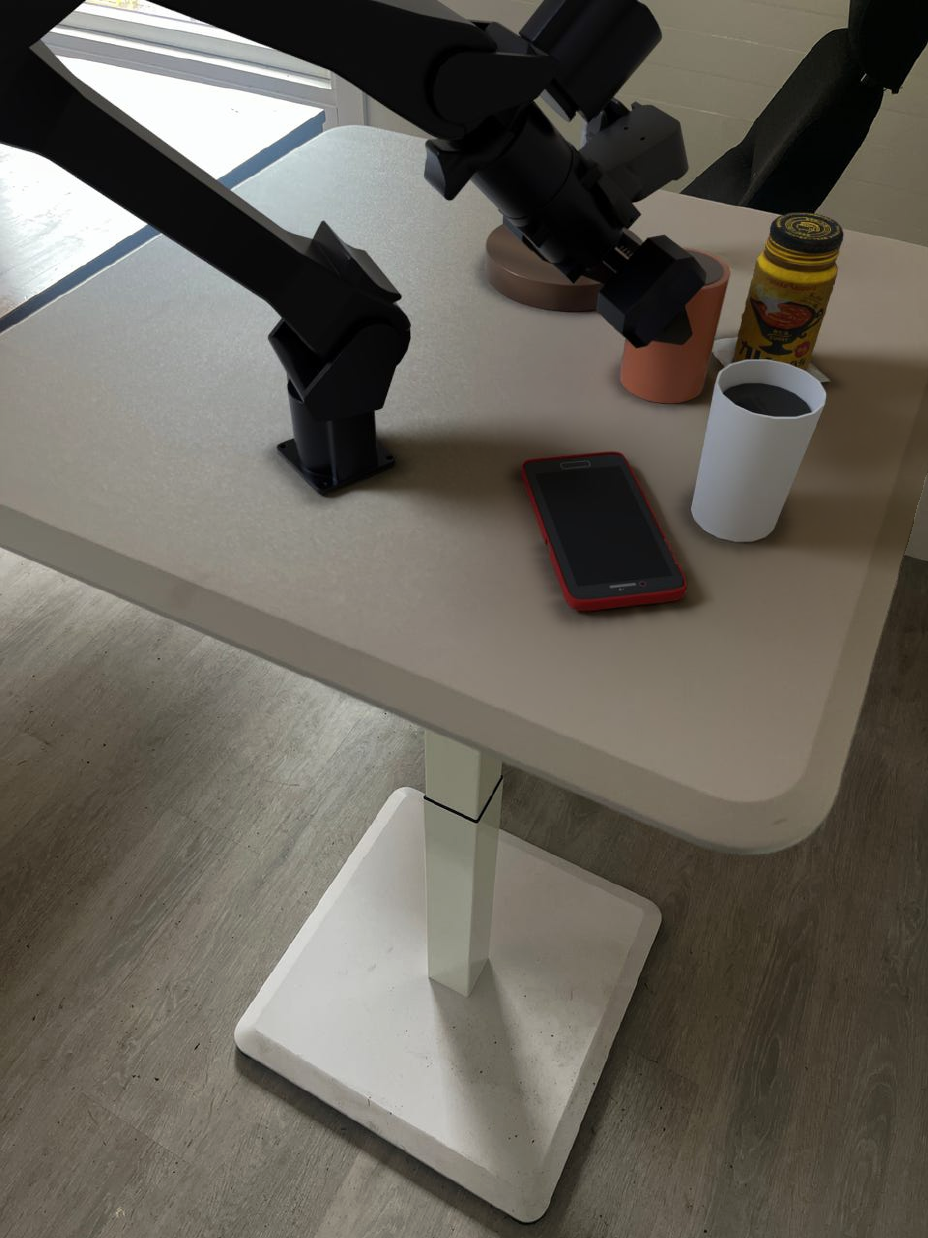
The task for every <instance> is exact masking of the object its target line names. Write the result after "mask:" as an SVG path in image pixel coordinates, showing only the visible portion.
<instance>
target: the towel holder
mask: <svg viewBox="0 0 928 1238" xmlns="http://www.w3.org/2000/svg"><path fill="white" fill-rule="evenodd" d="M586 127H587V122H586V121H585V120H584V119H583V118H582V124H581V132H580V143H579V150H580V149H581V148H582V147H583V146H584V145H585V143H586V142H587V141H586V137H585V134H586ZM622 231H623V232H624V233H626V234H627V235H628V236H629V237H631V238H632V239H633V240H634V241H636V242H637V243H638V244H639V245H641V244H642V243H643V242H644V241H643V240H642V239H641V237H639V236H638V235H637V234H636V233H635V232H634V231H632V230H630V228H629V229H626V228H623V229H622ZM615 250H617V251H618V252H619V253H620V254H622V255H623V256H624V257H625V258H626V259H629V257H627V256H626V255H625V254H624V253H623V252H621V251H620V250H619V249H618V248H617V247H616V248H615ZM484 274H485V277H486V280H487V281H488V282H489V284H490V285H491V286H492V287H493V288H494V289H495V290H496V291H498V292H499V293H500V294H502V295H503V296H505V297H506V298H508V299H511V300H513V301H514V302H515V301H516V302H518V303H520V304H523V305H527V306H529V307H534V308H538V309H543V310H549V311H559V312H588V311H596V308H597V301H598V294H599V291H600V290H601V289H602V288H603V286H604V285H605V284H602V283H599V282H597V281H594V280H591V279H589V278H586V277H584V276H580V278H579V279H578V280H577V281H576V282H575V283H574V284H573V283H572V282H571V281H570V280H569V279H568V278H566V277H565V276H564V275H563V274H562V273H561V272H560V271H559V270H558V269H557V268H556V267H554V266H553V265H552V264H550V263H547V262H545V261H543V260H542V259H540V258H539V257H538V256H537V255H536V254H535V253H534V252H533V251H531V250H529V249H528V248H527V247H526V246H525V245H524V244H523V243H522V242H521V241H520V240H519V239H518V238H517V237H516V236H515V235H514V234H513V233H512V232H511V231H510V230H509V229H508V228H507V227H506V226H505V225H504V224H503V223H502V224H499V225H498V226H496V228H494V229H493V230H492V231H491V232H490V233H489V234H488V236H487V238H486V241H485V253H484Z"/></svg>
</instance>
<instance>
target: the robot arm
mask: <svg viewBox="0 0 928 1238" xmlns="http://www.w3.org/2000/svg"><path fill="white" fill-rule="evenodd" d="M145 1H146V2H149V3H151V4H154V5H156V6H159V7H162V8H164V9H167V10H170V11H172V12H175V13H177V14H179V15H183V16H185V17H188V18H190V19H193V20H195V21H198V22H200V23H203V24H206V25H209V26H211V27H213V28H216V29H220V30H222V31H224V32H228V33H230V34H233V35H236V36H238V37H240V38H243V39H245V40H248V41H251V42H254V43H256V44H259V45H261V46H264V47H267V48H269V49H271V50H275V51H277V52H280V53H282V54H285V55H288V56H290V57H293V58H295V59H298V60H301V61H303V62H306V63H309V64H312V65H314V66H317V67H320V68H322V69H324V70H327V71H330V72H332V73H333V74H334V75H336V76H338V77H339V78H342V79H343V80H345V81H346V82H348V83H349V84H351V85H352V86H354V87H355V88H357V89H358V90H360V91H361V92H362V93H364V94H366V95H367V96H369V97H370V98H371V99H373V100H374V101H376V102H377V103H379V104H380V105H381V106H383V107H385V108H386V109H388V110H389V111H391V112H392V113H393V114H396V115H397V116H398V117H401V118H402V119H404V120H405V121H407V122H409V123H410V124H411V125H413V126H415V127H417V128H418V129H420V130H422V131H423V132H424V133H426V134H428V135H430V136H431V137H434V139H431V138H429V139H427V140H426V141H425V143H424V148H425V150H426V151H425V152H426V158H425V163H424V171H423V178H424V180H425V181H426V182H427V183H428V184H429V185H430V186H431V187H432V188H433V189H434V190H435V191H437V193H438V194H439V195H440V196H442V198H443V199H444V200H446V201H448V202H452V201H453V200H454V199H456V197H457V196H458V195H459V193H461V191H462V190H463V189H464V188H465V187H466V185H467V184H468V182H469V181H471V182H472V183H473V184H474V186H475V187H476V188H477V189H478V190H479V191H480V192H481V193H482V194H483V195H484V197H486V198H487V200H489V201H490V202H491V203H492V204H493V206H495V208H497V211H498V212H499V213H500V214H501V215H502V224H504V225H505V226H506V227H507V228H508V229H509V230H510V231H511V232H512V233H513V234H514V235H515V236H516V237H517V238H518V239H519V240H520V241H521V242H522V243H523V244H524V245H525V246H526V247H527V248H528V249H529V250H531V251H533V252H534V253H535V254H536V255H537V256H538V257H539V258H540V259H542V260H543V261H545V262H547V263H550V264H552V265H553V266H554V267H556V268H557V269H558V270H559V271H560V272H561V273H562V274H563V275H564V276H565V277H566V278H568V279H569V280H570V281H571V282H572V283H573V284H574V283H575V282H576V281H577V280H578V279H579V278H580V276H584V277H586V278H589V279H591V280H594V281H597V282H599V283H602V284H605V285H604V286H603V288H602V289H601V290H600V291H599V294H598V301H597V308H596V310H595V311H596V312H597V313H598V314H599V315H600V316H601V317H602V318H603V319H604V320H605V321H606V322H607V323H608V324H609V325H610V326H611V327H612V328H613V329H614V330H615V331H616V332H617V333H619V335H621V336H622V337H623V338H624V340H625V339H626V340H627V341H628V342H630V343H631V344H632V345H633V346H634V347H635V348H636V349H637V348H642V347H646V346H648V345H649V344H650V343H651V341H654V342H662V343H669V344H675V345H684V344H685V343H686V342H687V341H688V340H689V339H690V338H691V336H692V335H693V332H692V329H691V325H690V322H689V318H688V314H687V311H686V307H685V305H686V304H687V303H688V302H689V301H690V300H691V299H692V298H693V297H694V296H695V295H696V294H697V292H698V291H699V290H700V289H701V288H702V287H703V286H704V285H705V282H706V275H707V273H706V272H705V270H704V269H703V268H702V267H701V265H700V264H699V263H698V261H697V260H696V259H695V258H694V256H692V255H691V254H690V253H688V252H687V251H686V250H684V249H683V248H684V247H683V246H681V245H679V244H678V243H676V242H675V241H674V240H673V239H671V238H670V237H669V236H668V235H666V234H660V235H654V236H649V237H646V238H645V240H644V241H643V243H642V244H641V245H639V244H638V243H637V242H636V241H634V240H633V239H632V238H631V237H629V236H628V235H627V234H626V233H624V232H623V231H622V229H623V228H626V229H629V230H630V228H631V227H632V226H633V225H634V224H635V223H636V221H638V219H639V218H640V217H641V216H642V213H641V212H640V210H639V209H638V208H637V207H636V205H635V204H634V203H638V202H641V201H643V200H645V199H646V198H648V197H649V196H651V195H653V194H654V193H656V192H657V191H658V190H660V189H662V188H663V187H665V186H666V185H668V184H669V183H671V182H672V181H679V180H681V179H682V178H683V177H684V176H685V175H686V174H687V173H688V172H689V169H690V166H689V161H688V155H687V150H686V146H685V141H684V140H685V139H684V134H683V130H682V124H681V122H680V120H678V119H677V118H675V117H674V116H672V115H670V114H668V113H667V112H665V111H663V110H662V109H660V108H658V107H657V106H655V105H653V104H641V103H639V102H638V101H636V100H635V101H634V102H632V103H631V104H630V107H631V110H630V108H628V107H627V106H626V105H625V104H624V103H623V102H621V100H619V99H617V98H616V97H615V96H616V95H617V93H619V91H620V90H622V88H623V87H624V85H625V84H626V83H627V81H629V80H630V78H631V77H632V76H633V75H634V73H635V72H636V71H637V70H638V68H640V66H641V65H642V64H643V63H644V61H645V60H646V59H647V58H648V57H649V55H650V54H651V53H653V50H655V48H656V47H657V46H658V45H659V43H660V42H661V41H662V39H663V33H662V29H661V27H660V25H659V23H658V21H657V19H656V16H655V15H654V14H653V13H652V11H651V9H650V8H649V7H648V5H646V4H645V3H643V2H640V0H542V2H541V3H540V4H539V5H538V7H537V8H536V10H535V11H534V12H533V13H532V15H530V17H529V18H528V19H527V21H526V22H525V24H523V26H522V27H521V28H520V30H519V31H518V34H517V33H516V32H515V31H513V30H511V29H510V28H508V27H507V26H505V25H503V24H501V23H500V22H498V21H494V20H493V21H492V20H491V21H490V20H482V19H481V20H480V19H468V18H465V17H464V16H463V15H461V14H459V13H457V12H456V11H455V10H453V9H451V8H450V7H449V6H448V5H447V6H446V5H445V4H443V3H442V2H441V1H439V0H145ZM85 2H87V0H0V145H3V146H7V147H11V148H14V149H18V150H21V151H24V152H29V153H32V154H35V155H37V156H40V157H42V158H44V159H46V160H48V161H50V162H52V163H53V164H55V165H56V166H58V167H59V168H61V169H62V170H63V171H66V173H68V174H70V175H72V176H73V177H75V178H76V179H77V180H79V181H80V182H82V183H84V184H85V185H87V186H88V187H90V188H91V189H93V190H94V191H96V192H97V193H98V194H101V195H102V196H104V197H105V198H107V199H108V200H109V201H111V202H113V203H114V204H116V205H117V206H119V207H121V208H122V209H123V210H125V211H127V212H128V213H129V214H131V215H133V216H134V217H136V218H137V219H139V220H140V221H142V222H144V223H145V224H147V226H150V227H151V228H153V229H154V230H156V231H157V232H159V233H160V234H161V235H163V236H165V237H167V238H168V239H169V240H171V241H172V242H174V243H176V244H177V245H178V246H180V247H181V248H183V249H185V250H186V251H188V252H189V253H191V254H193V255H194V256H195V257H197V258H198V259H200V260H201V261H203V262H205V263H206V264H208V265H209V266H211V267H212V268H213V269H216V270H217V271H218V272H220V273H221V274H223V275H225V276H226V277H227V278H229V279H230V280H232V281H234V282H235V283H237V284H238V285H240V286H242V287H243V288H245V289H246V290H248V291H249V292H251V293H252V294H254V295H255V296H257V297H258V298H260V299H261V300H262V301H264V302H266V303H267V304H268V305H269V306H270V307H271V308H272V309H273V310H274V311H275V312H276V314H278V316H279V317H280V319H279V320H278V322H277V323H276V324H275V326H273V328H272V329H271V331H270V332H269V334H268V335H267V341H268V343H269V345H270V346H271V348H272V349H273V351H274V353H275V355H276V357H277V359H278V360H279V362H280V364H281V365H282V367H283V369H284V371H285V372H286V380H287V384H286V389H287V396H288V403H289V411H290V412H289V413H290V418H291V426H292V433H293V438H290V439H288V440H284V441H283V442H280V443H278V444H277V445H276V451H277V454H278V455H279V456H280V457H281V458H282V459H283V460H284V461H285V462H286V463H287V464H288V465H289V466H290V468H292V469H293V470H294V471H295V472H296V473H297V475H299V477H301V479H303V480H304V481H305V482H306V483H307V484H308V485H309V486H310V487H311V489H312V490H314V491H315V492H316V493H317V494H318V495H327V494H329V493H332V492H334V491H336V490H339V489H341V488H344V487H346V486H349V485H351V484H353V483H356V482H358V481H361V480H362V479H365V478H367V477H370V476H372V475H375V474H378V473H380V472H382V471H384V470H387V469H389V468H392V467H394V466H395V465H396V464H397V456H396V455H395V454H394V452H392V451H391V450H390V449H388V447H386V446H385V445H384V444H383V443H382V442H380V440H378V438H377V421H376V411H380V410H382V409H383V408H384V405H385V403H386V400H387V396H388V393H389V390H390V388H391V385H392V381H393V378H394V375H395V372H396V369H397V366H399V365H400V364H401V362H402V361H403V359H404V357H405V356H406V354H407V353H408V350H409V346H410V342H411V339H412V336H411V335H412V334H411V333H412V332H411V328H412V323H411V321H410V319H409V317H408V315H407V314H406V312H404V310H403V309H402V307H401V306H400V305H399V304H398V303H397V302H399V301H400V300H402V298H403V295H402V294H401V293H400V291H399V290H398V288H397V287H395V285H394V284H393V283H392V281H391V280H390V279H389V278H388V276H387V275H386V274H385V273H384V272H383V270H382V269H381V268H380V267H379V265H378V264H377V263H376V261H375V260H374V259H373V258H372V257H371V256H370V253H368V252H367V250H365V249H361V248H356V247H353V246H352V245H350V244H348V243H346V242H345V241H344V240H343V239H342V238H341V237H340V236H339V235H338V233H336V232H335V231H334V229H333V228H332V227H331V226H330V225H329V223H327V222H326V221H325V220H321V221H320V223H319V224H318V227H317V229H316V231H315V233H314V235H313V237H312V238H311V237H307V236H305V235H300V234H296V233H294V232H290V231H288V230H286V229H285V228H283V227H282V226H280V225H279V224H278V223H276V222H275V221H273V220H272V219H271V218H269V217H268V216H267V215H265V214H264V213H262V212H261V211H260V210H258V209H257V208H256V207H254V206H253V205H251V204H250V203H249V202H248V201H247V200H245V199H243V198H242V197H241V196H239V195H238V194H237V193H235V192H234V191H233V190H231V189H230V188H228V187H227V186H225V185H224V184H223V183H221V182H220V181H219V180H217V179H216V178H215V177H213V176H212V175H211V174H210V173H208V172H206V171H205V170H204V169H202V167H200V166H199V165H197V164H196V163H194V162H193V161H192V160H190V159H189V158H188V157H186V156H184V155H183V154H182V153H181V152H179V151H178V150H177V149H176V148H174V147H173V146H171V144H169V143H167V142H166V141H165V140H163V139H162V138H160V137H159V136H158V135H156V133H153V132H152V131H151V130H149V129H148V127H147V128H146V127H145V126H144V125H143V124H141V122H139V121H137V120H136V119H135V118H133V116H131V115H129V114H128V113H126V112H125V111H124V110H122V109H121V108H120V107H118V106H117V105H115V104H114V103H112V101H110V100H108V98H107V97H105V96H103V95H102V94H101V93H99V92H98V91H96V90H95V89H94V88H92V87H91V86H90V85H88V84H87V83H86V82H84V81H83V80H81V78H79V77H78V76H76V75H75V74H74V73H73V72H72V71H71V70H70V69H69V68H68V66H66V65H65V64H64V63H63V62H62V61H61V60H60V58H58V56H56V54H55V53H54V52H53V51H52V49H50V47H48V45H47V44H45V42H44V41H43V40H42V38H44V37H45V36H46V35H47V34H48V33H49V32H50V31H52V30H53V29H55V27H57V26H58V25H59V24H60V23H62V22H63V21H64V20H65V19H66V18H68V17H69V16H70V15H71V14H72V13H73V12H75V10H77V9H78V8H79V7H80V6H81V5H82V4H84V3H85ZM539 97H540V98H541V99H542V101H544V103H545V104H546V105H548V106H549V107H550V108H551V110H553V112H554V113H556V115H558V116H559V117H561V119H563V120H564V121H565V122H567V123H571V122H572V121H573V120H574V119H575V117H576V116H577V114H578V115H579V116H580V117H581V118H582V120H583V119H584V120H585V121H586V122H587V127H586V134H585V137H586V141H587V142H586V143H585V145H584V146H583V147H582V148H581V149H580V148H579V149H577V148H576V146H575V145H573V144H572V143H571V141H570V142H569V141H568V140H567V139H566V137H564V136H563V134H562V133H561V132H560V130H559V129H558V128H557V127H556V126H555V125H554V124H553V122H552V121H551V120H550V119H549V117H548V116H547V115H546V113H545V112H544V111H543V110H542V109H541V108H540V106H539V105H538V104H537V103H536V102H535V100H537V99H538V98H539ZM616 247H617V248H618V249H619V250H620V251H621V252H623V253H624V254H625V255H626V256H627V257H629V259H626V258H625V257H624V256H623V255H622V254H620V253H619V252H618V251H617V250H615V248H616Z"/></svg>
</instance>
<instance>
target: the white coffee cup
mask: <svg viewBox="0 0 928 1238" xmlns="http://www.w3.org/2000/svg"><path fill="white" fill-rule="evenodd" d="M826 398H827V392H826V390H825V388H824V386H823V385H822V382H821V383H820V381H818V380H817V379H816V378H814V377H813V376H812V375H810V374H809V373H808V372H806V371H804V370H802V369H799V368H797V367H795V366H792V365H790V364H787V363H782V362H777V361H772V360H767V359H765V360H743V361H739V362H736V363H732V364H729V365H728V366H726V367H723V368H722V369H721V370H719V371H718V374H717V377H716V380H715V383H714V388H713V393H712V399H711V403H710V409H709V413H708V418H707V425H706V428H705V435H704V439H703V440H704V441H703V444H702V451H701V455H700V460H699V464H698V465H699V466H698V471H697V477H696V481H695V487H694V492H693V496H692V503H691V507H690V511H691V514H692V518H693V520H694V522H695V523H696V524H697V525H698V526H699V527H700V528H701V529H702V530H703V531H704V532H706V533H708V534H710V535H712V536H714V537H716V538H717V539H722V540H725V541H730V542H735V543H744V542H746V543H750V542H751V543H753V542H755V541H758V540H761V539H765V538H767V537H768V536H769V535H770V534H771V533H772V532H773V531H774V530H775V527H776V525H777V523H778V520H779V518H780V516H781V514H782V513H781V512H782V511H783V508H784V505H785V503H786V501H787V498H788V496H789V493H790V491H791V489H792V486H793V483H794V481H795V478H796V476H797V473H798V471H799V469H800V466H801V465H802V461H803V459H804V457H805V455H806V453H807V449H808V447H809V444H810V442H811V439H812V437H813V434H814V431H815V430H816V427H817V424H818V422H819V421H820V416H821V415H822V412H823V410H824V407H825V404H826V400H827V399H826Z"/></svg>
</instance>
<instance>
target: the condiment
mask: <svg viewBox="0 0 928 1238" xmlns="http://www.w3.org/2000/svg"><path fill="white" fill-rule="evenodd" d="M843 241H844V230H843V227H842V226H841V225H840V224H839V223H838V222H837V221H836V220H834V218H833V219H832V218H830V217H829V216H825V215H823V214H819V213H818V214H817V213H812V212H809V211H808V212H807V211H806V212H802V211H800V212H799V211H797V212H794V211H793V212H789V213H784V214H782V215H779V216H777V217H776V218H774V220H773V221H772V222H771V224H770V227H769V234H768V237H767V239H766V241H765V244H764V248H765V249H764V250H762V251H761V253H760V254H759V256H758V257H757V259H756V261H755V264H754V268H753V274H752V278H751V279H750V282H749V283H750V285H749V289H748V294H747V296H746V298H745V302H744V303H745V304H744V310H743V312H742V314H741V322H740V326H739V329H738V331H737V332H738V333H737V336H735V337H727V338H726V337H725V338H721V339H715V341H714V345H713V349H712V354H713V356H714V357H715V358H716V359H717V360H719V361H718V362H720V363H721V365H722V366H723V368H725V367H726V366H728V365H729V364H732V363H736V362H739V361H743V360H765V359H767V360H772V361H777V362H782V363H787V364H790V365H792V366H795V367H797V368H799V369H802V370H804V371H806V372H808V373H809V374H810V375H812V376H813V377H814V378H816V379H817V380H818V381H820V383H821V384H822V383H826V382H831V380H830V379H829V378H828V377H827V375H825V374H824V373H822V372H821V371H820V370H819V369H818V368H817V367H816V366H815V365H814V364H813V363H811V360H812V356H813V352H814V349H815V347H816V344H817V341H818V337H819V333H820V330H821V327H822V324H823V321H824V317H825V315H826V313H827V309H828V305H829V301H830V299H831V295H832V294H833V291H834V286H835V284H836V280H837V276H838V269H839V268H838V264H837V262H836V261H837V259H838V257H839V256H840V249H841V246H842V243H843Z"/></svg>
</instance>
